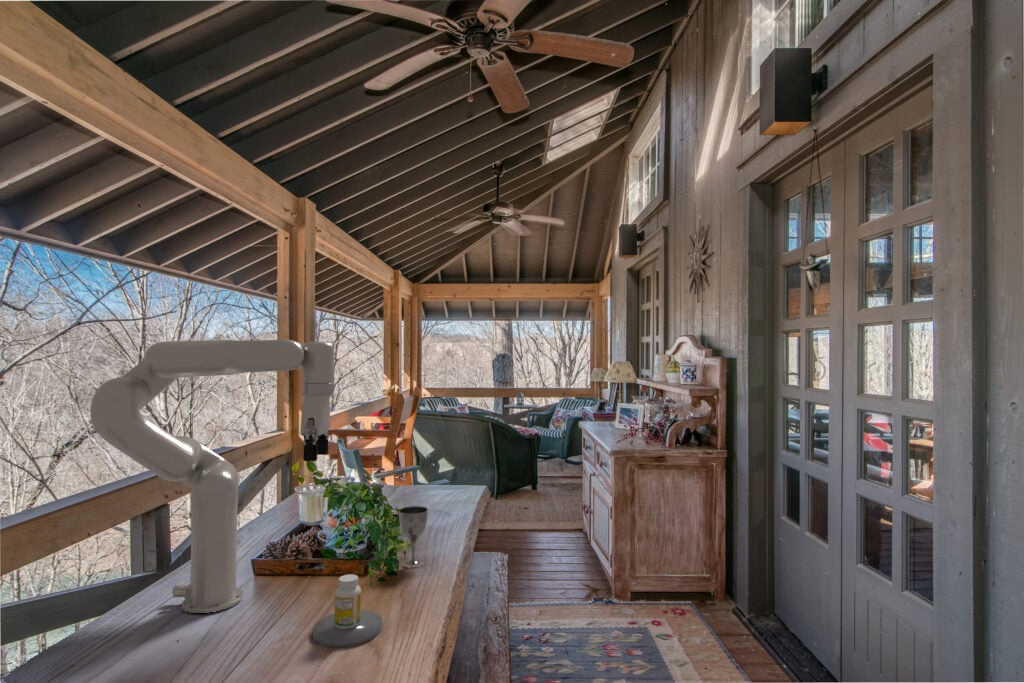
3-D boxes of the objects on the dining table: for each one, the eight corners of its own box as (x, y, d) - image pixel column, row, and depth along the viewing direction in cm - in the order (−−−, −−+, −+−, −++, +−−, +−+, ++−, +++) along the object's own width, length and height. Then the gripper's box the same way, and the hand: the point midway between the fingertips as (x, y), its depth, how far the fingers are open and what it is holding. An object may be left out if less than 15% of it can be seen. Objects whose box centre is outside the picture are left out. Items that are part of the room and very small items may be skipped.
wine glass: (421, 570, 148) (421, 514, 149) (394, 567, 150) (394, 512, 150) (431, 559, 156) (431, 506, 156) (405, 557, 158) (405, 505, 158)
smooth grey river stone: (305, 649, 107) (305, 643, 107) (321, 616, 121) (321, 611, 121) (377, 645, 109) (377, 639, 109) (385, 613, 123) (386, 607, 123)
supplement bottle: (343, 632, 111) (344, 585, 112) (329, 624, 115) (329, 578, 115) (366, 623, 115) (366, 577, 116) (351, 615, 119) (352, 571, 119)
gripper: (312, 388, 148) (311, 452, 147) (291, 391, 131) (289, 463, 130) (341, 388, 148) (339, 452, 148) (323, 392, 131) (321, 463, 130)
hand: (316, 457), depth 139 cm, fingers open, 9 cm apart
